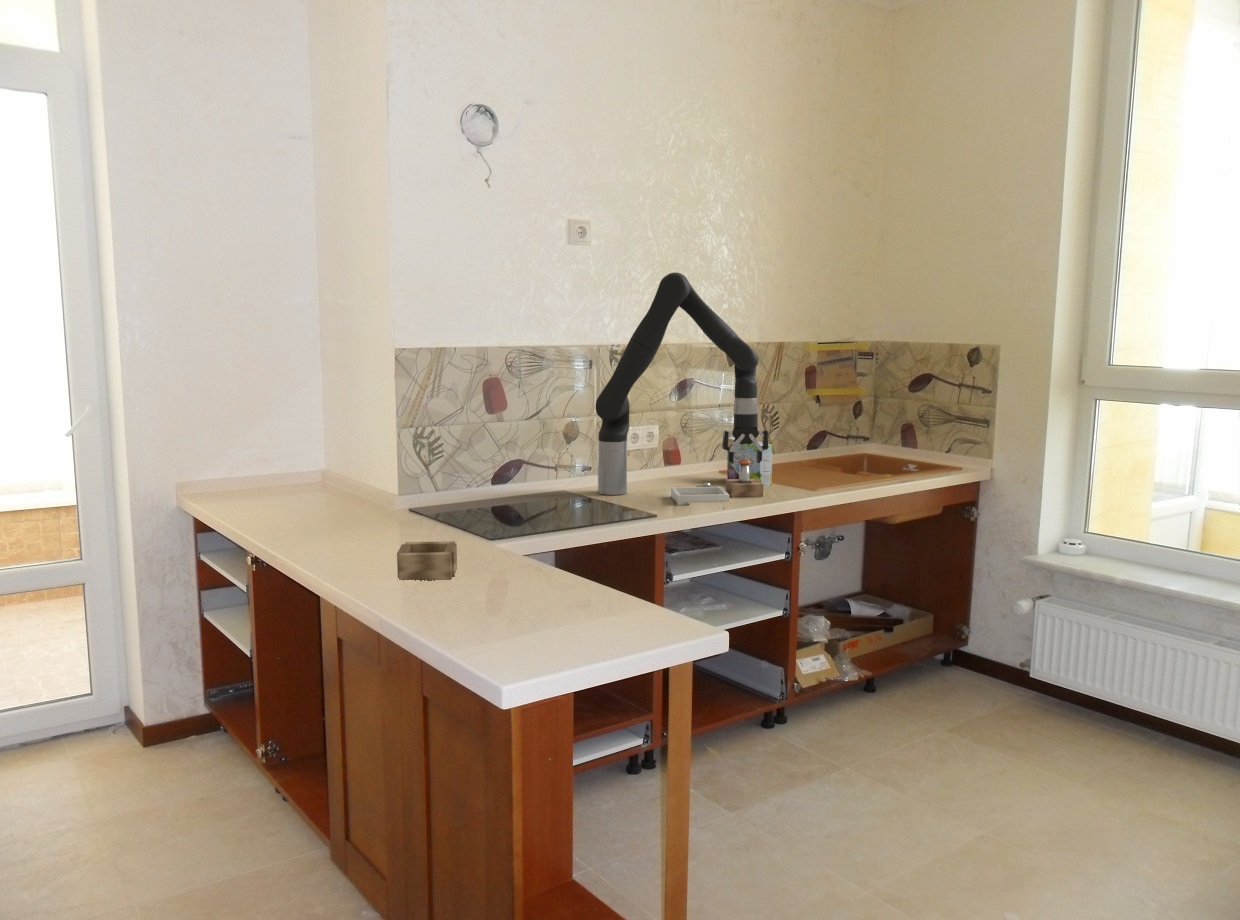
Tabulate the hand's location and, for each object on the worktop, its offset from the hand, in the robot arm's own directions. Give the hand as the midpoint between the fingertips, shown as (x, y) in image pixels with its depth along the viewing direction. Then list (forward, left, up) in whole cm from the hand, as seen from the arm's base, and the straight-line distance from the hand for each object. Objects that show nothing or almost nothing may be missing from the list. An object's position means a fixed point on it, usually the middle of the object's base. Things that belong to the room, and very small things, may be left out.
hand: (745, 463), depth 304 cm
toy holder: (-90, -88, -11) cm, 126 cm away
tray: (-15, -4, -11) cm, 19 cm away
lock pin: (0, 0, -10) cm, 10 cm away
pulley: (-11, +6, -11) cm, 17 cm away
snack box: (+7, +24, -11) cm, 28 cm away
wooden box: (0, 0, -11) cm, 11 cm away
